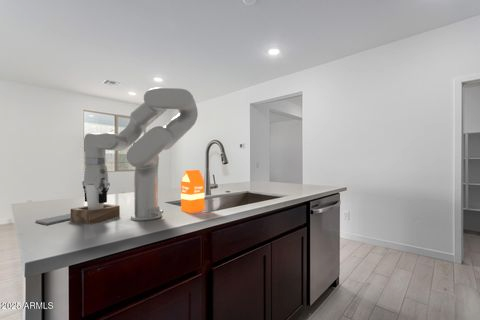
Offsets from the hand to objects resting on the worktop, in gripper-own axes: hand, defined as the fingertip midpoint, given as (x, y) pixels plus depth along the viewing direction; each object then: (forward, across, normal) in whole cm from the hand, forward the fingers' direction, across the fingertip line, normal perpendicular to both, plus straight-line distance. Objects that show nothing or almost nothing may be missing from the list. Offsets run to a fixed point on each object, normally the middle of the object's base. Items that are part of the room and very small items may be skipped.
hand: (95, 201), depth 100 cm
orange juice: (+7, -28, -31) cm, 42 cm away
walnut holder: (+7, 0, 0) cm, 7 cm away
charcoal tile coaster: (+7, +12, +7) cm, 16 cm away
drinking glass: (+7, 0, 0) cm, 7 cm away
